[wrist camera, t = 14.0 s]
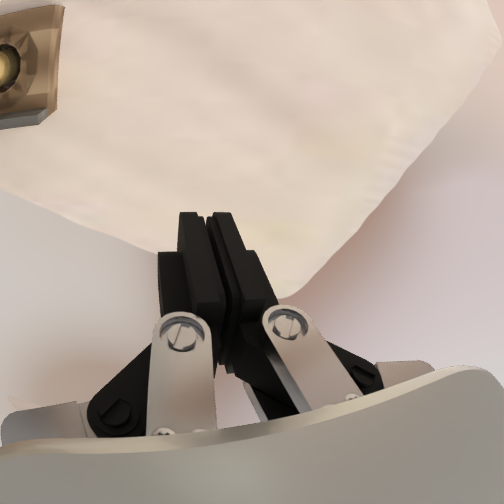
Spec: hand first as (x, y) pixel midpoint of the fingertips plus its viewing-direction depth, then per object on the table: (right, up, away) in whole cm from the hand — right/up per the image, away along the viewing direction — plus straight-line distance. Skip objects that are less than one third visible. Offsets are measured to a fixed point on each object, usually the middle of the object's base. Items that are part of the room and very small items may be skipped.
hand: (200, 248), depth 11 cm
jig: (-24, +20, +11) cm, 33 cm away
